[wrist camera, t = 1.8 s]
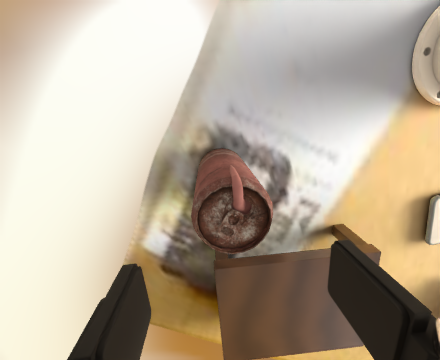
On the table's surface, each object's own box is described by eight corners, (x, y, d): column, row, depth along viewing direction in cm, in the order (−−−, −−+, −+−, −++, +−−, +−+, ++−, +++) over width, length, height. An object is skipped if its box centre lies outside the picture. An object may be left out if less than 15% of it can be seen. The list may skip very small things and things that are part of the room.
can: (241, 142, 27) (274, 170, 14) (245, 188, 29) (278, 252, 16) (194, 149, 27) (182, 183, 14) (202, 194, 29) (198, 264, 16)
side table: (344, 222, 32) (381, 251, 25) (335, 303, 36) (363, 346, 30) (212, 235, 31) (214, 269, 24) (221, 316, 36) (224, 363, 29)
